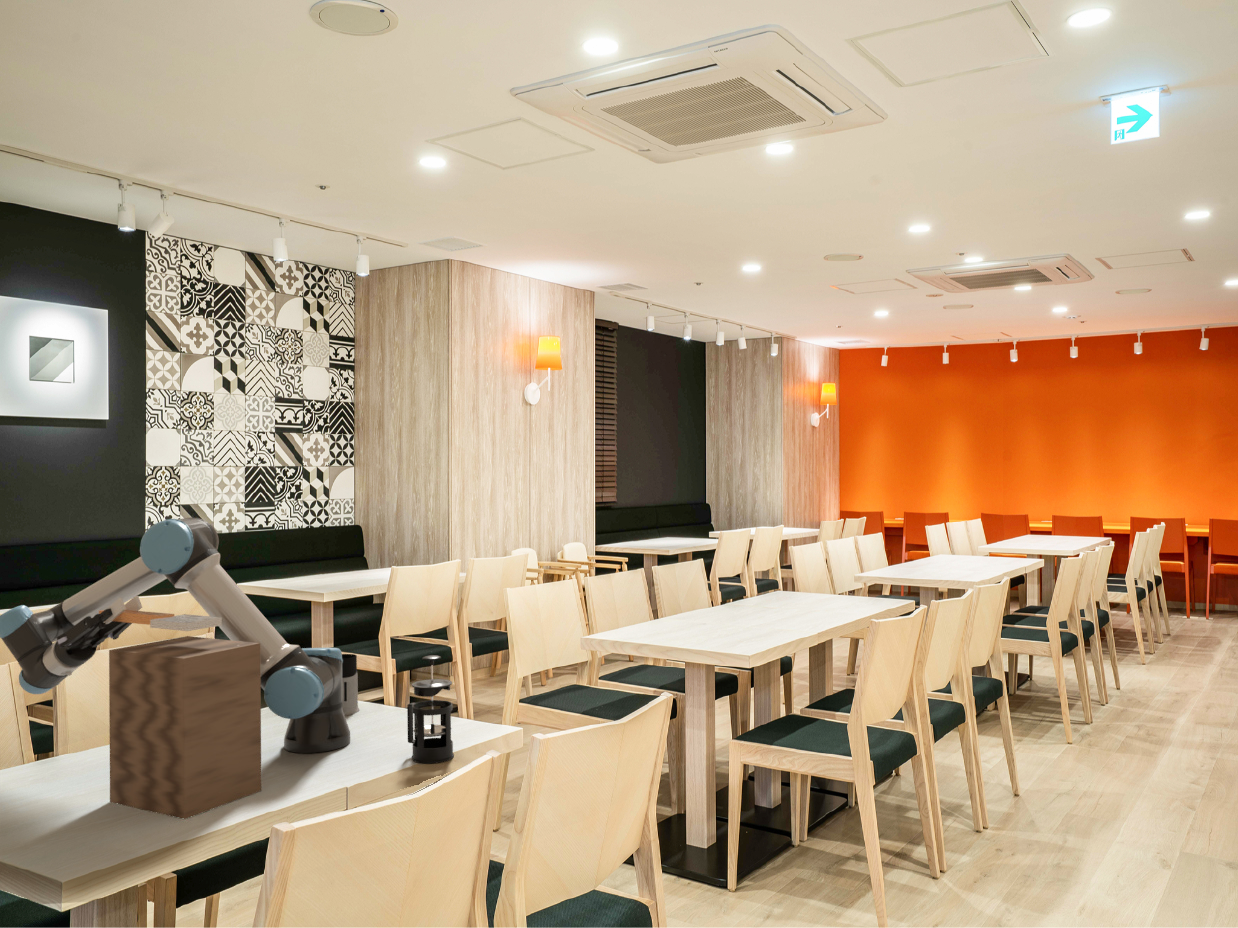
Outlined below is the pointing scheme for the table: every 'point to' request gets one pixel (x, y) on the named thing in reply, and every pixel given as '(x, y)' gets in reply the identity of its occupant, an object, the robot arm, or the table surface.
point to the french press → (432, 747)
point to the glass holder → (349, 684)
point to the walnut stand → (184, 724)
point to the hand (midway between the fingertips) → (130, 603)
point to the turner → (168, 620)
